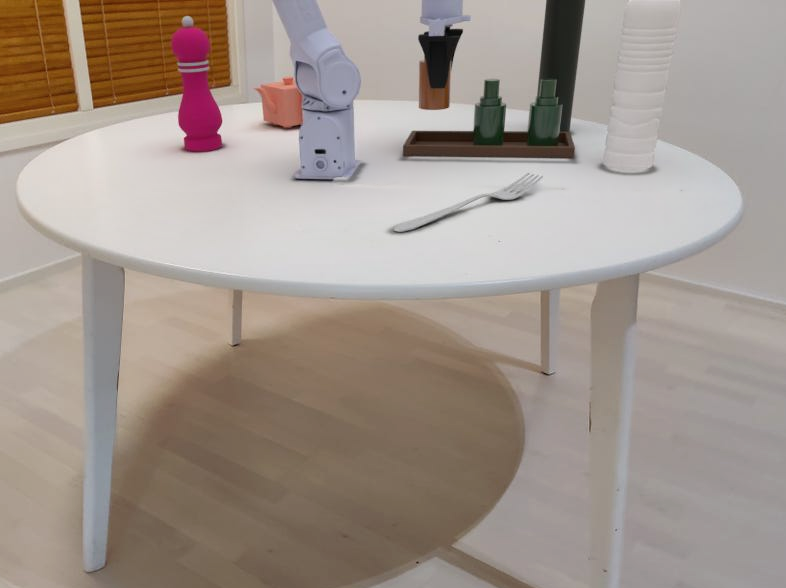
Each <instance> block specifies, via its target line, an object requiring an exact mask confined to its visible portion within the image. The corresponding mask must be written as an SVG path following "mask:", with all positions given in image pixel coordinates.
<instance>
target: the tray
mask: <svg viewBox="0 0 786 588" xmlns="http://www.w3.org/2000/svg"><path fill="white" fill-rule="evenodd" d="M527 131H528V130H527ZM527 131H525V130H523V131H522V130H521V131H520V130H506V131H505V130H504V141H503V146H490V145H473V130H412V131H410V133H409V135H408V137H407V139H406V140H405V142H404V144H403V146H402V157H428V158H429V157H430V158H431V157H433V158H434V157H435V158H436V157H438V158H439V157H443V158H500V159H503V158H504V159H505V158H506V159H507V158H508V159H509V158H511V159H573V160H574V159H575V150H576V147H575V143H574V140H573V136H572V133H571V131H568V132H559V140H558V146H526V142H527Z"/></svg>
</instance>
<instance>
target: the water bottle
mask: <svg viewBox="0 0 786 588" xmlns="http://www.w3.org/2000/svg"><path fill="white" fill-rule="evenodd" d="M681 1H682V0H628V1H627V3H626V6H625V9H624V12H623V13H624V14H623V22H622V26H623V27H622V30H621V34H622V35H621V37H620V43H619V47H620V48H619V50H618V54H619V55H618V57H617V61H618V62H617V64H616V71H615V76H614V81H613V87H614V88H613V90H612V96H611V105H610V108H609V115H610V116H609V118H608V122H607V133H606V136H605V141H604V142H605V143H604V144H605V145H604V146H605V148H604V149H603V155H602V162H601V163H602V165H604V166H605V167H607V168H610V169H616V170H621V171H622V170H623V171H624V170H625V171H640V170H641V171H642V170H646V169H647V170H648V169H650V168H652V167H653V165H654V159H655V149H656V147H657V142H658V134H659V131H660V126H661V125H660V124H661V120H660V119H661V117H662V114H663V105H664V102H665V97H666V88H667V86H668V82H669V75H670V68H671V62H672V58H673V57H672V55H673V54H674V45H675V40H676V34H677V31H678V28H677V27H678V24H679V21H680V16H681V11H682V2H681Z"/></svg>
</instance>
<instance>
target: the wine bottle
mask: <svg viewBox="0 0 786 588" xmlns="http://www.w3.org/2000/svg"><path fill="white" fill-rule="evenodd" d="M585 7H586V0H546V1H545V8H544V9H545V11H544V19H543V20H544V21H543V31H542V40H541V41H542V42H541V49H540V51H541V52H540V62H539V71H538V82H537V92H536V96H539V93H540V83H541V79H544V78H554V79H556V80H557V81H556V90H555V96H558V102H559V103H562V104H563V105H562V114H561V122H560V131H559V132H570V130H571V122H572V115H573V114H572V113H573V105H574V97H575V88H576V79H577V71H578V65H579V64H578V63H579V56H580V48H581V39H582V32H583V23H584V16H585V15H584V14H585V9H586V8H585Z"/></svg>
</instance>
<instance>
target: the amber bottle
mask: <svg viewBox="0 0 786 588" xmlns="http://www.w3.org/2000/svg"><path fill="white" fill-rule="evenodd" d="M423 57H424V58H423V59H420V60H419V61H418V62H419V63H418V109H419V110H426V111H440V110H446V109H449V108H450V104H451V102H450V101H451V79H452V69H451V62H450V68H449V74H448V79H447V83H446V86H445V88H431V87H430V83H429V78H428V71H427V64H426V59H425V56H424V55H423Z"/></svg>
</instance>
